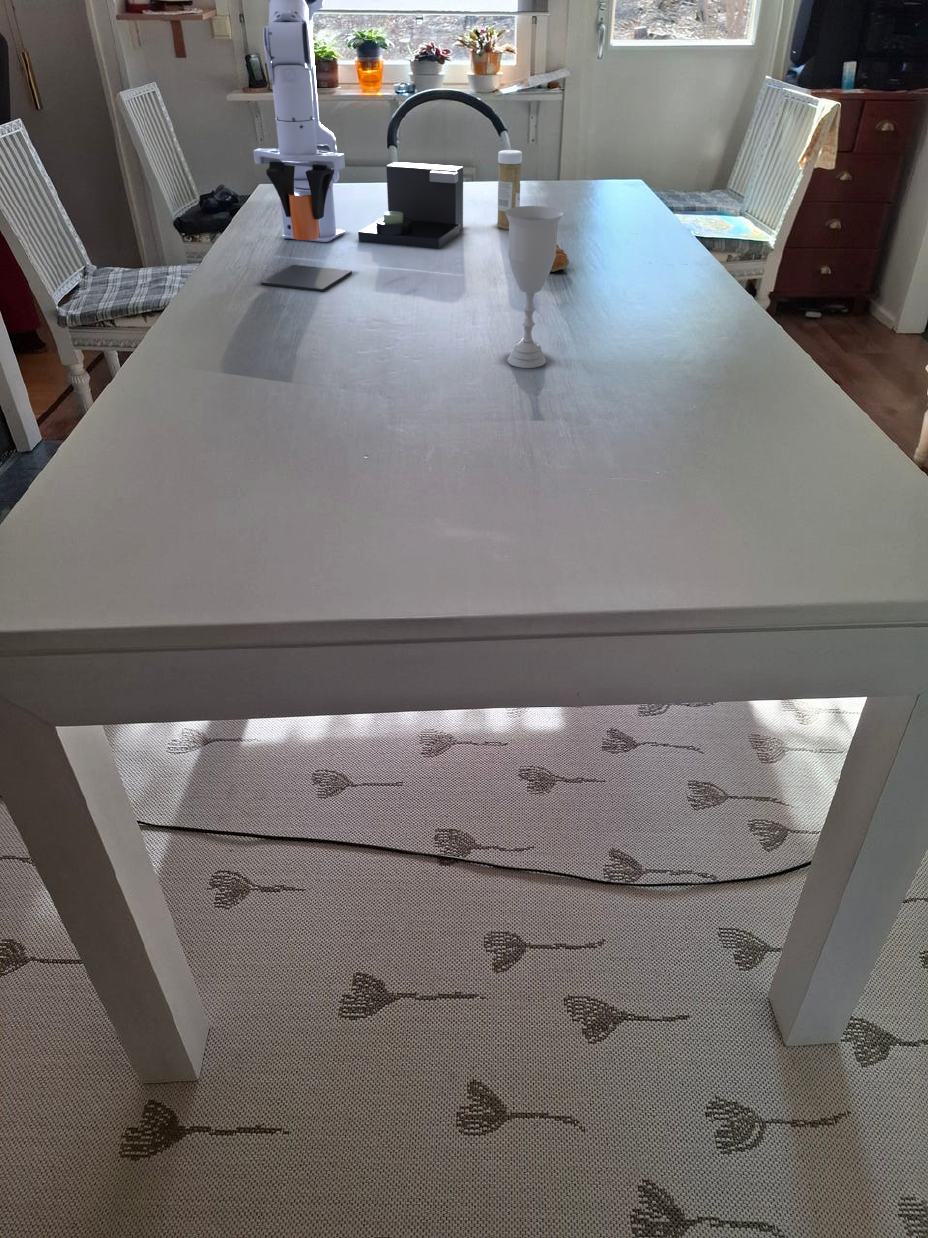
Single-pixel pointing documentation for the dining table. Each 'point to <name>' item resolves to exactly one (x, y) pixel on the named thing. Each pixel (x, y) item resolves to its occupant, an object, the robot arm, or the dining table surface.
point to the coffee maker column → (426, 192)
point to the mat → (307, 278)
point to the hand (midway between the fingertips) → (304, 216)
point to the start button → (393, 217)
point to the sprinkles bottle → (508, 184)
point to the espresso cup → (303, 216)
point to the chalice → (531, 269)
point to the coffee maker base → (410, 233)
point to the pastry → (560, 260)
